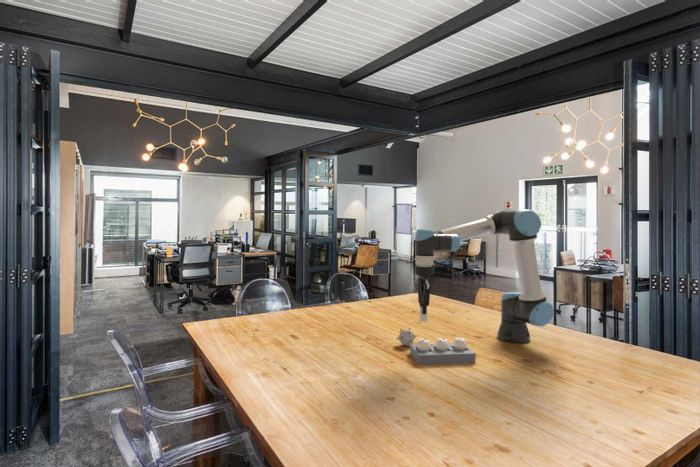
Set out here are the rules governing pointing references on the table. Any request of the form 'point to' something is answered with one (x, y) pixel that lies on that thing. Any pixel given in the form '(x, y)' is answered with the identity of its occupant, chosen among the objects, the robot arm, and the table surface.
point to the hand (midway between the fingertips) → (423, 321)
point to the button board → (442, 355)
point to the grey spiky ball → (406, 337)
